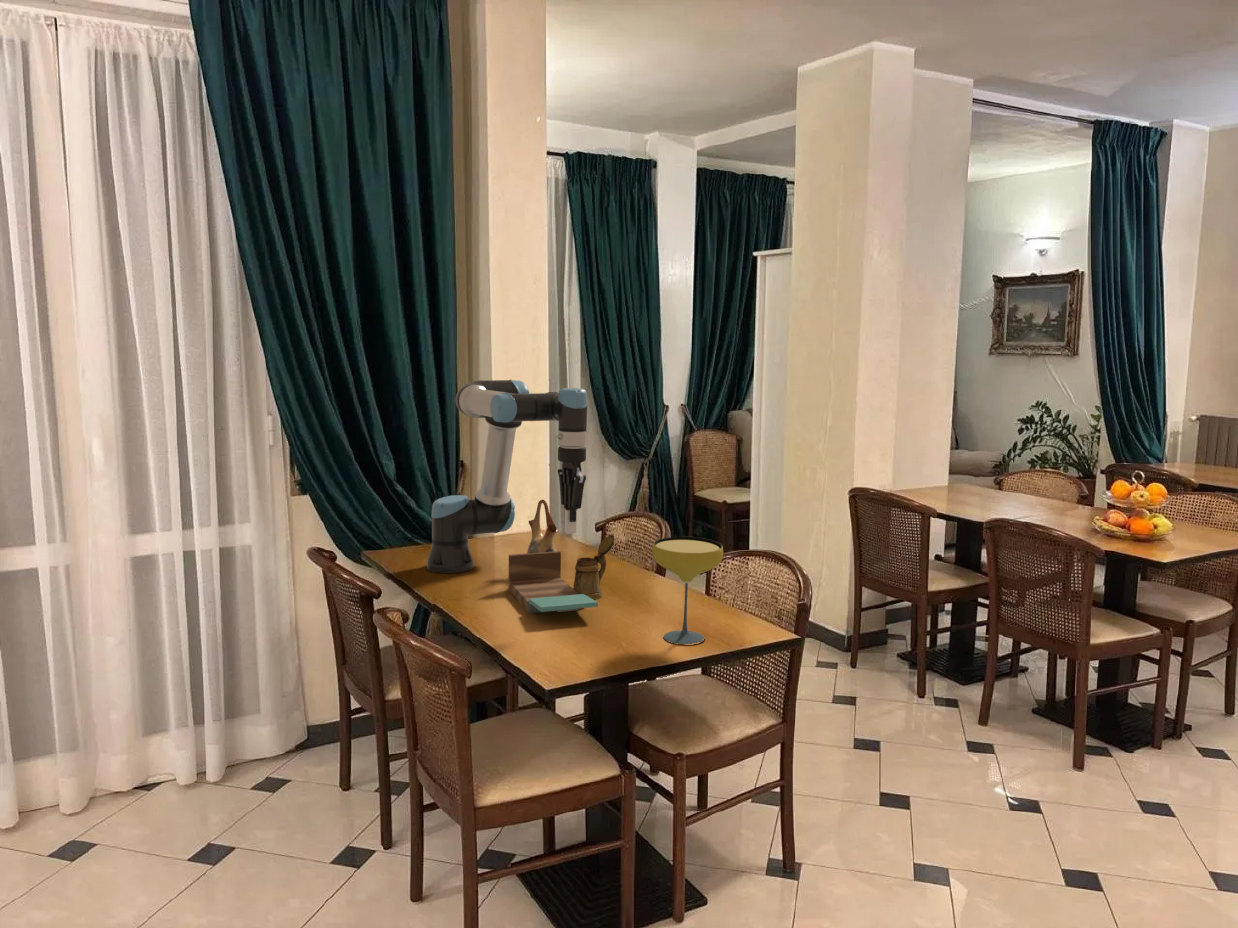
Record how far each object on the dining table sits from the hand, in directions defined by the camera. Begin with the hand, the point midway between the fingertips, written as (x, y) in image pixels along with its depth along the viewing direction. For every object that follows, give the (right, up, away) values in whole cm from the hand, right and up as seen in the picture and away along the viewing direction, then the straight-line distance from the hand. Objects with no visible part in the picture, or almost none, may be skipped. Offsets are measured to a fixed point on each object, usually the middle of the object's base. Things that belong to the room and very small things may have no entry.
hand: (570, 532), depth 245 cm
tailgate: (-4, -20, +10) cm, 22 cm away
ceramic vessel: (-12, -18, +45) cm, 50 cm away
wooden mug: (+5, -21, +26) cm, 34 cm away
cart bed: (-9, -21, +22) cm, 31 cm away
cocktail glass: (+30, -27, -10) cm, 42 cm away
